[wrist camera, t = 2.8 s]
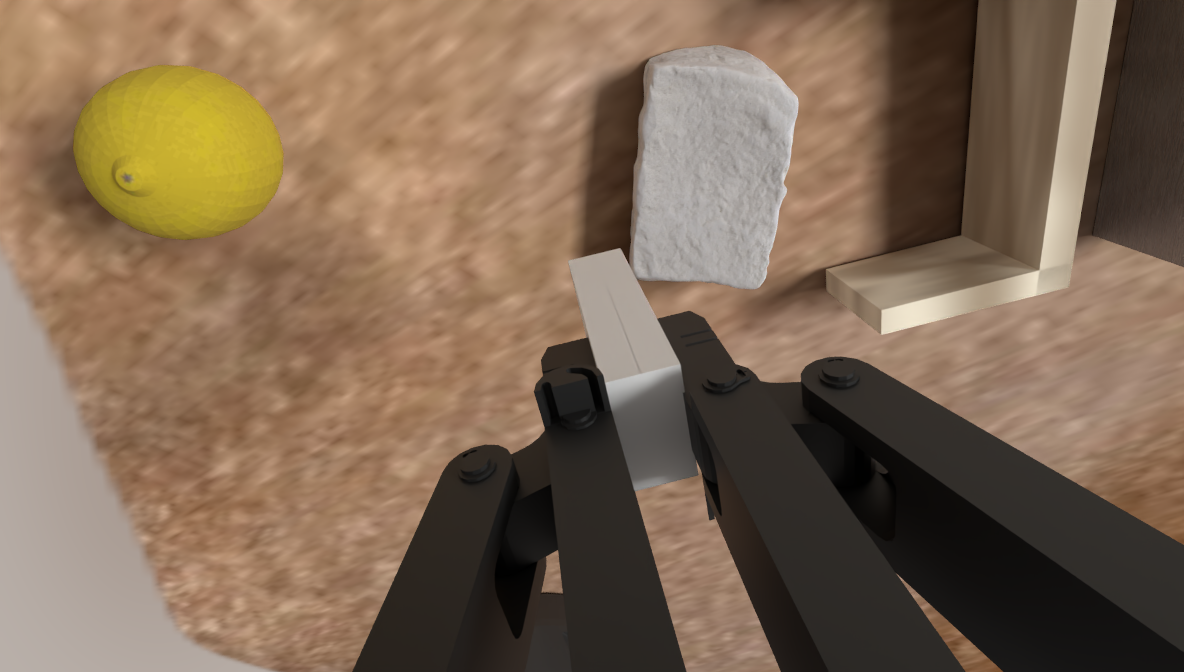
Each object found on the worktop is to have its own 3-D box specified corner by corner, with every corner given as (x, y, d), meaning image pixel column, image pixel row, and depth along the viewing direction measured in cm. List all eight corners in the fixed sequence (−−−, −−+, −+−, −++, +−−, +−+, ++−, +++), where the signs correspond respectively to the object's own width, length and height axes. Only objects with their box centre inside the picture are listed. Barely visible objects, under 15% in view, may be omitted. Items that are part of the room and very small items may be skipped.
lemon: (311, 79, 24) (234, 101, 17) (304, 216, 26) (233, 286, 19) (152, 42, 23) (-3, 49, 16) (158, 189, 25) (26, 252, 18)
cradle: (826, 291, 31) (881, 334, 27) (815, -37, 25) (886, -51, 20) (988, 250, 31) (1068, 287, 27) (1020, -85, 25) (1134, -110, 20)
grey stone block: (649, 63, 29) (645, 15, 23) (787, 72, 28) (818, 26, 23) (626, 276, 30) (617, 281, 25) (757, 290, 30) (780, 298, 24)
